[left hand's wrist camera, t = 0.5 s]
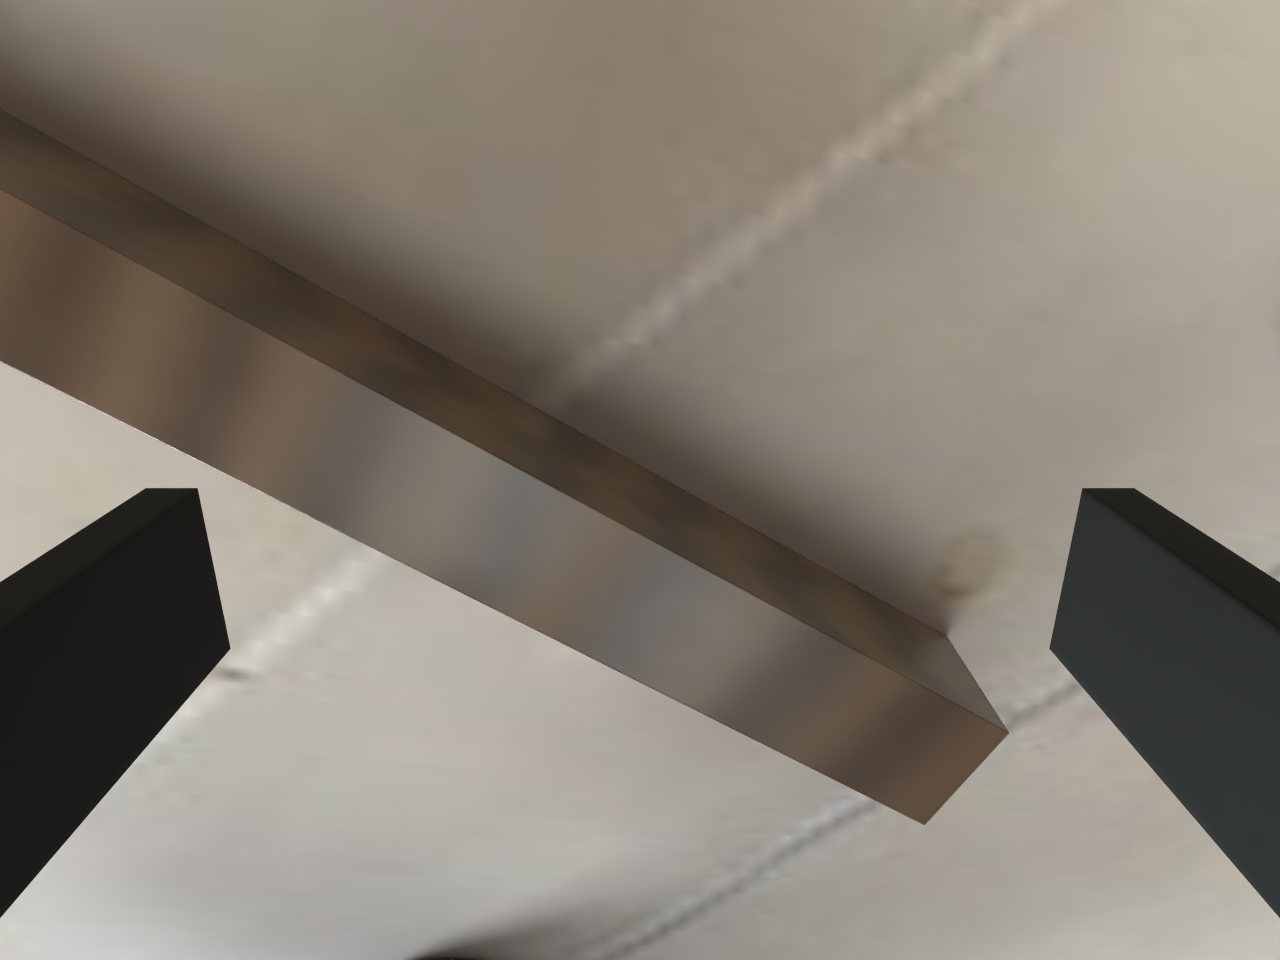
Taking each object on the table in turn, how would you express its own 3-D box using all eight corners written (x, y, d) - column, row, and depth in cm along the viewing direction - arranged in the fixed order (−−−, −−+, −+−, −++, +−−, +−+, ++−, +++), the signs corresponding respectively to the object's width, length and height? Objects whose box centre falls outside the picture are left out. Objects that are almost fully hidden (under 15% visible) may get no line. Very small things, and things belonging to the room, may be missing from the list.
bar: (948, 637, 40) (1010, 732, 33) (879, 719, 42) (924, 825, 35) (-231, -20, 30) (-482, -73, 23) (-257, 123, 32) (-498, 112, 25)
